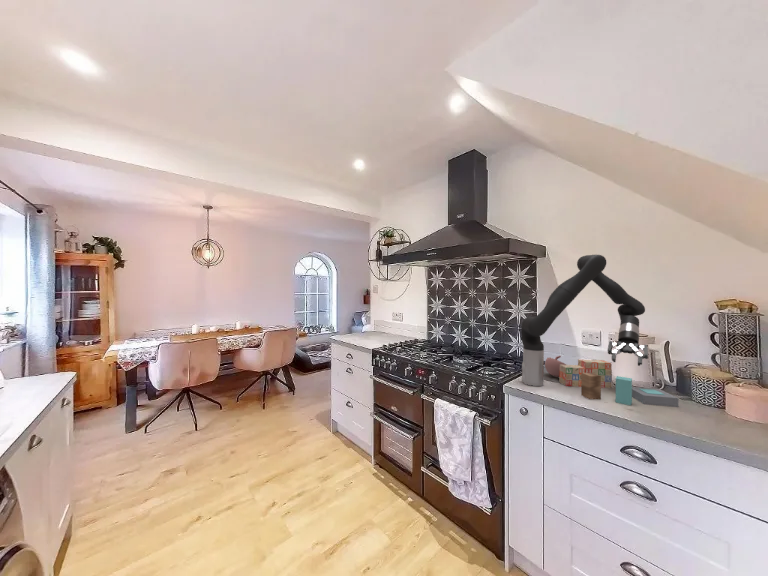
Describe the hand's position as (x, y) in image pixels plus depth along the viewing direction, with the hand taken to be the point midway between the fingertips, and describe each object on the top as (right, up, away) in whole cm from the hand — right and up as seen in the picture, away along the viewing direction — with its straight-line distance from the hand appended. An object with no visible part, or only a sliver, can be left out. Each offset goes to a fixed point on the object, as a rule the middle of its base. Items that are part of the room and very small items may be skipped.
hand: (626, 362), depth 132 cm
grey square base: (+6, -15, -5) cm, 17 cm away
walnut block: (-18, -14, -3) cm, 23 cm away
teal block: (-8, -14, -8) cm, 18 cm away
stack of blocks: (-9, -15, +15) cm, 23 cm away
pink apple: (-14, -15, +28) cm, 35 cm away
